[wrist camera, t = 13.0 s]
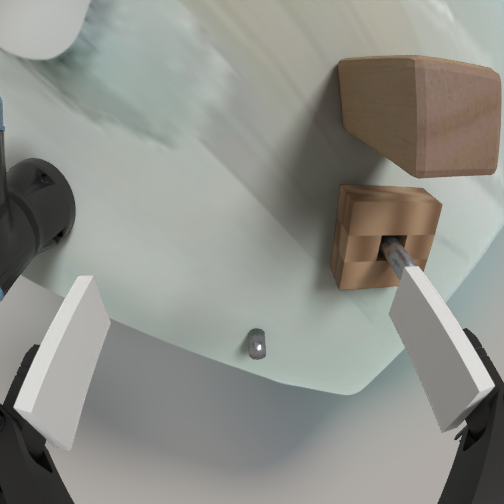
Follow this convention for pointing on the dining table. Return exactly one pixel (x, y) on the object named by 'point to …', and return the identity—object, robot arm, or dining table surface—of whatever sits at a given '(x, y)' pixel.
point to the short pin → (257, 344)
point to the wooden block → (424, 112)
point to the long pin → (395, 254)
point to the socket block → (380, 232)
